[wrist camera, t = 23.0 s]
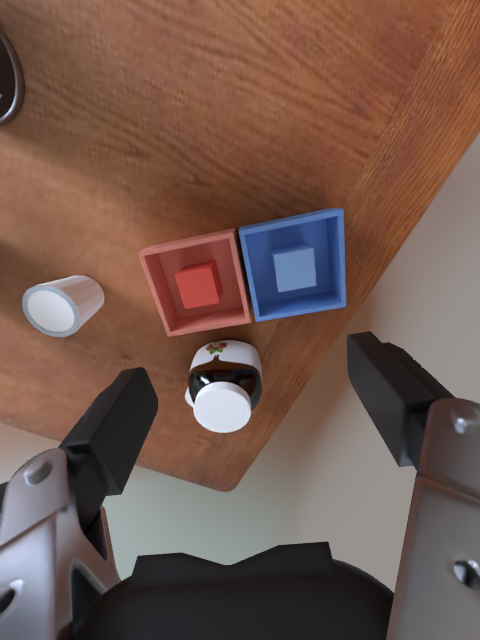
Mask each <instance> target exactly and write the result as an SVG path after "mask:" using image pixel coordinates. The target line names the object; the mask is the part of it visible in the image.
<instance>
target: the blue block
mask: <svg viewBox="0 0 480 640" xmlns="http://www.w3.org/2000/svg"><path fill="white" fill-rule="evenodd" d="M270 251H271V257H272V264H273V271H274V278H275V283H276V286H277V288H278V291H279V292H284V291H289V290H295V289H300V288H306V287H312V286H316V272H315V260H314V248H313V247H312V246H310V245H309V244H307V243H305V242H304V243H299V244H294V245H289V246H284V247H279V248H273V249H270Z"/></svg>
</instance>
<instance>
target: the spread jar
mask: <svg viewBox="0 0 480 640" xmlns="http://www.w3.org/2000/svg"><path fill="white" fill-rule="evenodd" d="M188 386H189V387H188V389H187V391H186V394H185V400H186V401H187V403H188V404H189V405H191V406H192V407H193V409H194V415H195V418H196V419H197V421H198V422H199V423H200V424H201V425H202V426H203V427H205V428H207V429H209V430H211V431H214V432H220V433H227V432H233V431H236V430H238V429H240V428H242V427H243V426H244V425H245V424H246V423H247V422H248V421H249V419H250V416H251V411H252V410H253V409H254V408H255V407H256V406H257V404H258V403H259V400H260V397H261V393H262V370H261V363H260V358H259V355H258V353H257V351H256V349H255V348H254V347H253V346H252V345H250V344H248V343H246V342H243V341H240V340H236V339H220V340H217V341H214V342H211V343H208V344H206V345H205V346H203V347H201V348H200V349H199V350H198V351H197V353H196V355H195V357H194V359H193V362H192V364H191V368H190V371H189V378H188Z"/></svg>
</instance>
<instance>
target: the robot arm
mask: <svg viewBox="0 0 480 640" xmlns="http://www.w3.org/2000/svg"><path fill="white" fill-rule="evenodd" d="M24 92H25V86H24V77H23V73H22V69H21V65H20V62H19V60H18V57H17V55H16V53H15V51H14V49H13V47H12V45H11V44H10V42H9V40H8V39H7V38H6V36H5V35H4V34H3V32H2V31H1V30H0V125H3V124H6V123H8V122H10V121H12V120H13V119H14V118H15V117H16V116H17V115H18V113H19V111H20V110H21V107H22V104H23V100H24ZM347 362H348V374H349V378H350V381H351V384H352V386H353V388H354V390H355V391H356V393H357V395H358V397H359V398H360V400H361V402H362V403H363V405H364V407H365V409H366V411H367V412H368V414H369V416H370V417H371V419H372V421H373V422H374V424H375V426H376V428H377V430H378V431H379V433H380V435H381V436H382V438H383V440H384V442H385V443H386V445H387V447H388V449H389V450H390V452H391V454H392V455H393V457H394V459H395V461H396V462H397V464H398V466H399V467H403V466H414V467H415V468H416V470H417V474H416V478H415V483H414V489H413V495H412V500H411V505H410V511H409V516H408V522H407V527H406V533H405V538H404V544H403V549H402V555H401V560H400V566H399V571H398V576H397V582H396V587H395V593H393V592H392V591H391V590H390V589H389V588H387V587H386V586H385V585H384V584H382V583H381V582H380V581H378V580H377V579H375V578H374V577H373V576H371V575H369V574H368V573H366V572H364V571H362V570H361V569H359V568H357V567H355V566H352V565H350V564H348V563H345V562H342V561H338V560H335V559H332V555H331V551H330V547H329V543H328V542H315V543H303V544H289V545H278V546H276V547H273V548H271V549H269V550H266V551H264V552H261V553H259V554H256V555H254V556H252V557H249V558H247V559H245V560H242V561H240V562H237V563H235V564H232V565H222V564H219V563H215V562H212V561H209V560H205V559H201V558H198V557H195V556H192V555H188V554H185V553H170V554H156V555H143V556H138V557H137V560H136V563H135V567H134V570H133V573H132V576H130V577H128V578H126V579H124V580H123V581H121V579H120V577H119V575H118V572H117V569H116V565H115V560H114V555H113V550H112V544H111V539H110V533H109V528H108V522H107V517H106V512H105V509H104V507H103V506H102V503H103V501H104V498H105V496H110V495H120V494H122V492H123V490H124V487H125V485H126V483H127V480H128V478H129V476H130V473H131V471H132V469H133V466H134V464H135V462H136V460H137V457H138V455H139V453H140V450H141V448H142V446H143V443H144V441H145V439H146V437H147V434H148V432H149V430H150V427H151V425H152V423H153V420H154V418H155V416H156V414H157V411H158V398H157V395H156V393H155V391H154V388H153V386H152V384H151V381H150V379H149V377H148V374H147V372H146V370H145V369H144V368H142V367H139V368H133V369H127V370H123V371H121V372H120V374H119V375H118V376H117V378H116V379H115V380H114V382H113V383H112V384H111V385H110V386H109V387H107V388H106V389H105V390H104V391H102V392H101V393H100V394H99V395H98V397H97V398H96V399H95V400H94V402H93V403H92V404H91V405H92V406H90V407H89V408H88V409H87V411H86V412H85V415H83V416H82V417H81V418H80V420H79V421H78V422H77V423H76V425H75V426H74V427H73V429H72V430H71V431H70V432H69V434H68V435H67V436H66V438H65V439H64V440H63V441H62V443H61V444H60V445H59V447H58V448H53V449H49V450H46V451H44V452H42V453H40V454H38V455H36V456H34V457H33V458H31V459H30V460H29V461H27V462H26V463H25V464H24V465H22V466H21V467H20V468H19V469H18V470H17V471H16V472H15V473H14V475H13V476H12V477H11V479H10V480H9V481H8V482H5V483H3V484H0V640H480V404H479V403H476V402H473V401H469V400H465V399H459V398H455V397H454V396H453V395H452V394H451V393H450V392H449V391H448V390H447V389H446V388H445V387H443V386H442V385H441V384H440V383H439V382H438V381H437V380H436V379H435V378H434V377H433V376H432V375H431V374H429V373H428V372H427V371H426V370H425V369H424V368H422V367H421V365H420V364H419V363H418V362H416V361H415V360H413V358H412V357H411V356H410V355H409V354H408V353H407V352H406V351H405V350H404V349H402V348H400V347H397V346H396V345H393V344H391V343H389V342H388V343H381V342H380V341H379V340H378V338H377V337H376V336H375V335H373V333H372V332H369V331H368V332H363V333H356V334H350V335H348V336H347Z"/></svg>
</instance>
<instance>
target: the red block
mask: <svg viewBox="0 0 480 640" xmlns="http://www.w3.org/2000/svg"><path fill="white" fill-rule="evenodd" d="M175 278H176V282H177V285H178V288H179V291H180V294H181V298H182V301H183V304H184V307H185V309H190V308H195V307H201V306H206V305H212V304H217V303H220V300H221V297H222V293H223V289H222V285H221V281H220V277H219V273H218V269H217V265H216V261H215V260H213V261H208V262H203V263H199V264H194V265H189V266H184V267H182V268H181V269H180V270H179V271H178V272H177V273H176V274H175Z"/></svg>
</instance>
